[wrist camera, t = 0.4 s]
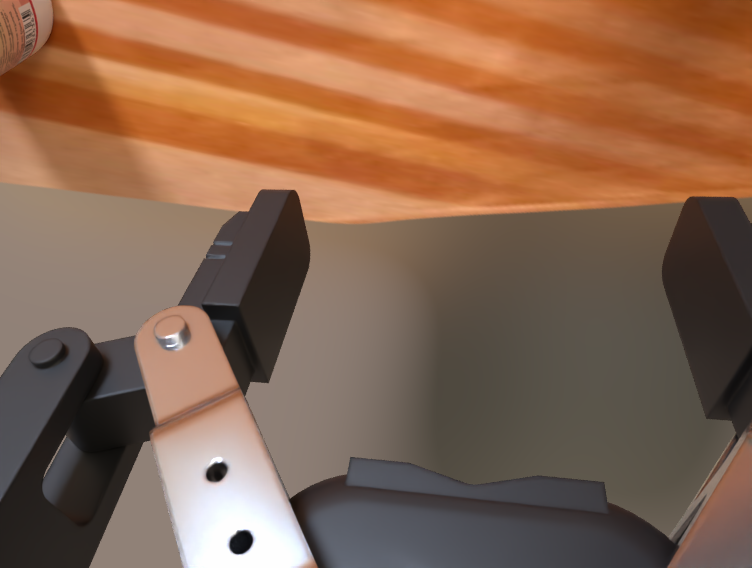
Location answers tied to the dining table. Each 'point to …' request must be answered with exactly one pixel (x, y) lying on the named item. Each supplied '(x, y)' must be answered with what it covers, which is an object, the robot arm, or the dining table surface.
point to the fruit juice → (23, 30)
